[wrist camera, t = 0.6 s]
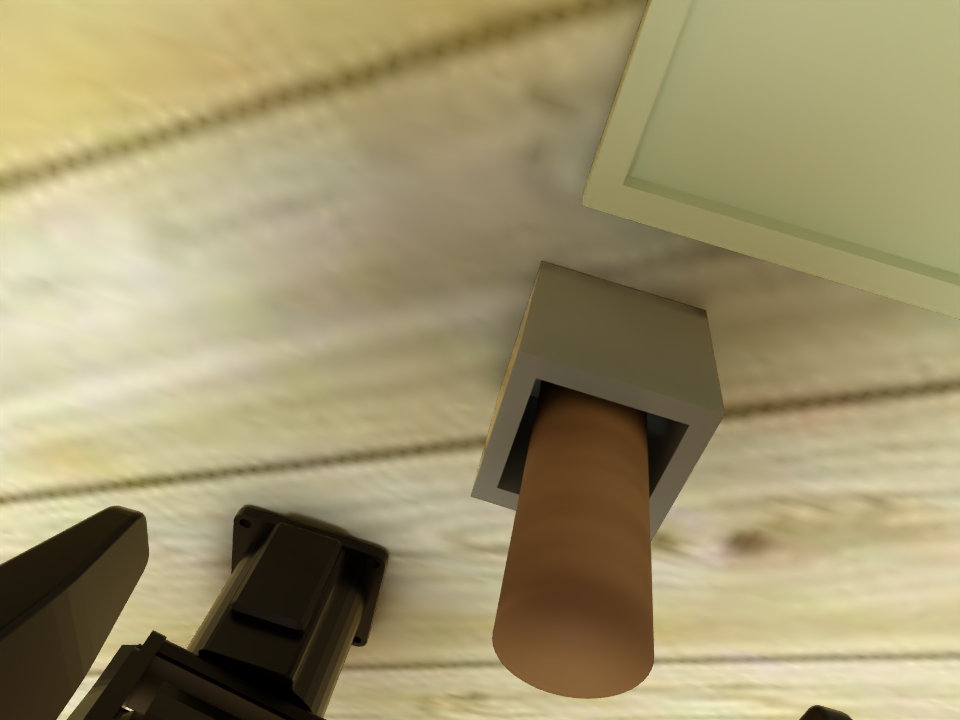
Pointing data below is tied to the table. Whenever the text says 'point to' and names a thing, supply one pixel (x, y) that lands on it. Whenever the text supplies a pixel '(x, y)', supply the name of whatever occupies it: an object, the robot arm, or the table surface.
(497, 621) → the dowel
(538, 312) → the pen cup
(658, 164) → the tray
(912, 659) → the table surface
